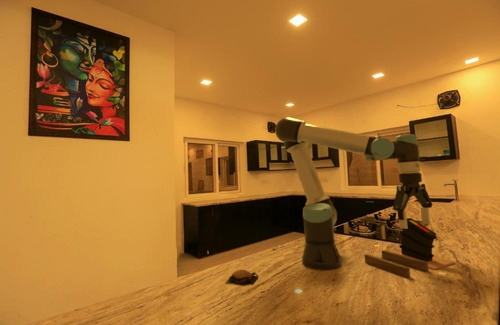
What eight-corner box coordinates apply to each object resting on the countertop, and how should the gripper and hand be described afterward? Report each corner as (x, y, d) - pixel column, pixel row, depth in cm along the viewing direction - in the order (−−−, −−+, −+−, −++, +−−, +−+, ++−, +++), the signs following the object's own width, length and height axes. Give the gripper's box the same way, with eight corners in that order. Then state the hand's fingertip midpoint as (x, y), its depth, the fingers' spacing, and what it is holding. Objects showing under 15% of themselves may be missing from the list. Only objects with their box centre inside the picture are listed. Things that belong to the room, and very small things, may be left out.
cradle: (407, 277, 78) (406, 268, 79) (365, 262, 94) (364, 254, 94) (428, 271, 83) (427, 262, 83) (384, 257, 98) (384, 250, 98)
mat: (434, 270, 83) (434, 268, 83) (387, 256, 100) (387, 254, 100) (455, 263, 88) (455, 261, 88) (407, 251, 104) (407, 249, 104)
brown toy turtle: (224, 285, 83) (223, 275, 83) (233, 275, 91) (232, 265, 91) (253, 287, 80) (252, 276, 80) (259, 277, 88) (259, 267, 88)
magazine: (399, 246, 103) (410, 217, 98) (429, 269, 92) (443, 237, 87) (393, 248, 102) (403, 218, 97) (422, 271, 91) (436, 238, 86)
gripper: (397, 173, 88) (402, 231, 86) (439, 171, 97) (445, 223, 96) (379, 174, 95) (384, 228, 93) (420, 171, 104) (425, 220, 103)
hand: (415, 225), depth 95 cm, fingers open, 13 cm apart
